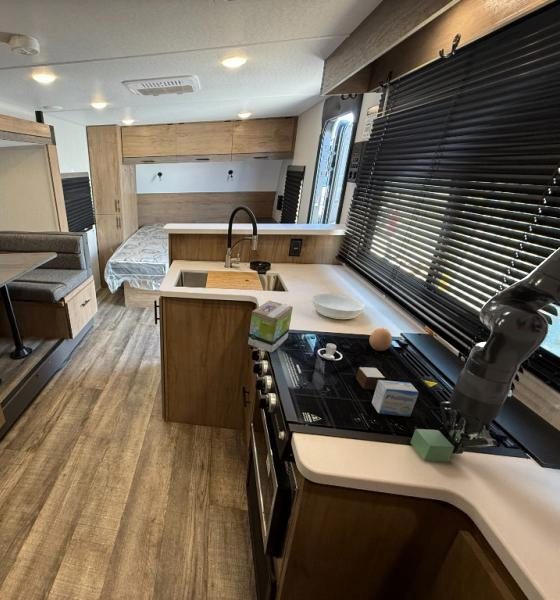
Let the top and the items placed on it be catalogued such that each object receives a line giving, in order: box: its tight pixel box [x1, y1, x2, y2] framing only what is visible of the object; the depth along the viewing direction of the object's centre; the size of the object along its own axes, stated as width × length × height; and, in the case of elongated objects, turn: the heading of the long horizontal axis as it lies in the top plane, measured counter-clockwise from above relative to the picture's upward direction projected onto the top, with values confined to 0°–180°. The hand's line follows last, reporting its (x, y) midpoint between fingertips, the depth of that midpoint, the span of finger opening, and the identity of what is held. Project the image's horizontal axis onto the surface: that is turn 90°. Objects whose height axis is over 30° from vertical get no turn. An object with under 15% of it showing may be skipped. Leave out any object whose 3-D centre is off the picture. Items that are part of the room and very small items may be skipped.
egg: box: [368, 327, 393, 352], centre depth 112 cm, size 7×7×9 cm
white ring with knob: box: [317, 342, 343, 361], centre depth 110 cm, size 9×8×4 cm
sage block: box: [409, 428, 454, 463], centre depth 71 cm, size 5×5×5 cm
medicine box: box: [371, 379, 420, 418], centre depth 84 cm, size 8×4×9 cm, turn 79°
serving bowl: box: [311, 293, 365, 320], centre depth 142 cm, size 21×21×7 cm
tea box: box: [247, 300, 294, 354], centre depth 118 cm, size 15×10×15 cm, turn 137°
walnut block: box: [355, 366, 386, 390], centre depth 94 cm, size 5×5×5 cm
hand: (452, 451), depth 71 cm, fingers closed
